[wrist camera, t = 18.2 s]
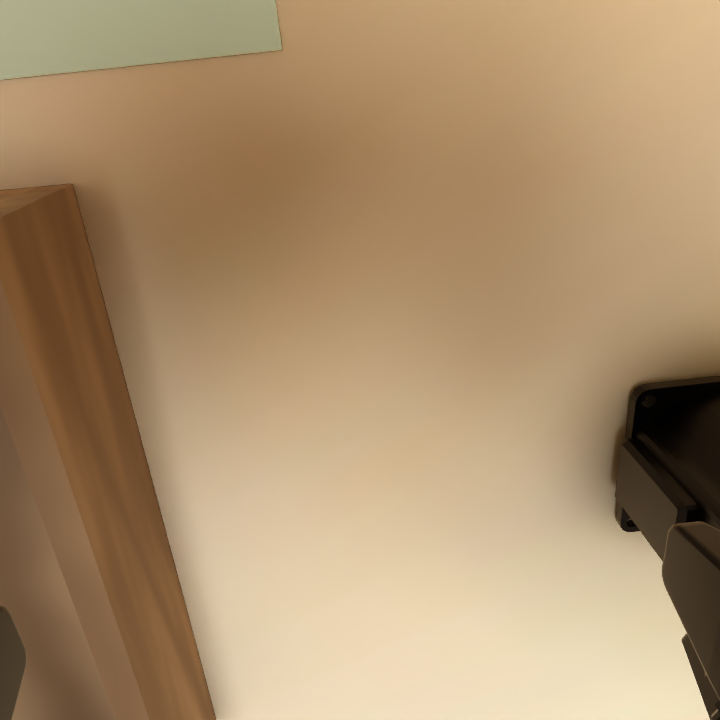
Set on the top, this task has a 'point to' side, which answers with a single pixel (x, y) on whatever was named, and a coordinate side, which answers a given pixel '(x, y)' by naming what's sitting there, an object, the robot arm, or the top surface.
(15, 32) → the lid
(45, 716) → the toolbox
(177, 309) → the top surface
